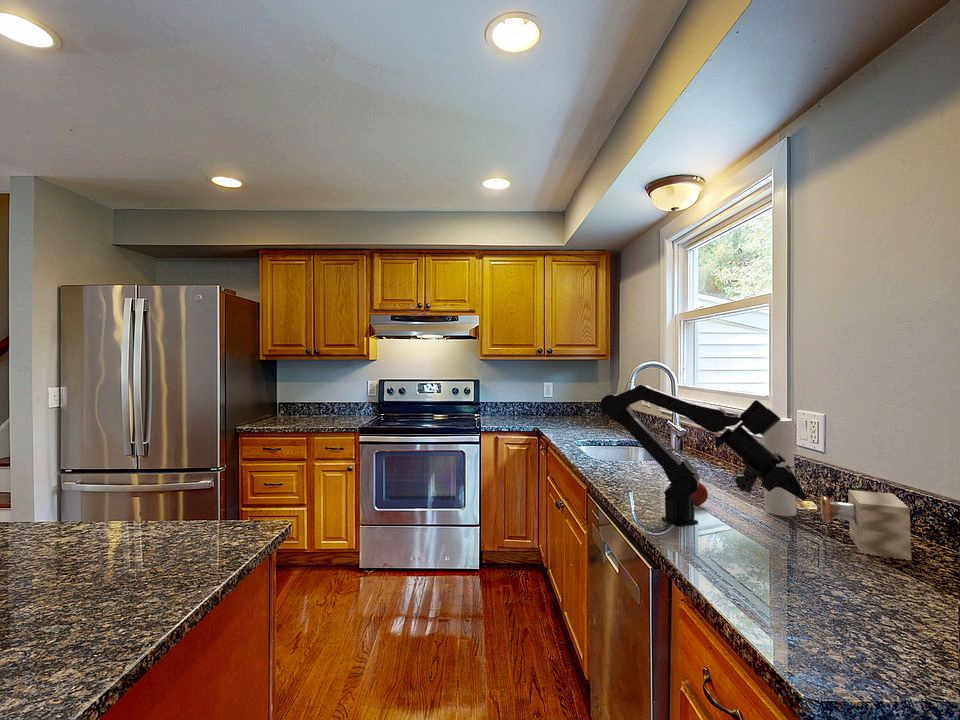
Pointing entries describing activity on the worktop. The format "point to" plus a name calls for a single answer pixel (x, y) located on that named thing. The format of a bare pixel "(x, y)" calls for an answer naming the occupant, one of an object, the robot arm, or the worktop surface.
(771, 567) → the worktop surface
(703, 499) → the onion
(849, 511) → the peg
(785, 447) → the cylindrical container
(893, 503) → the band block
